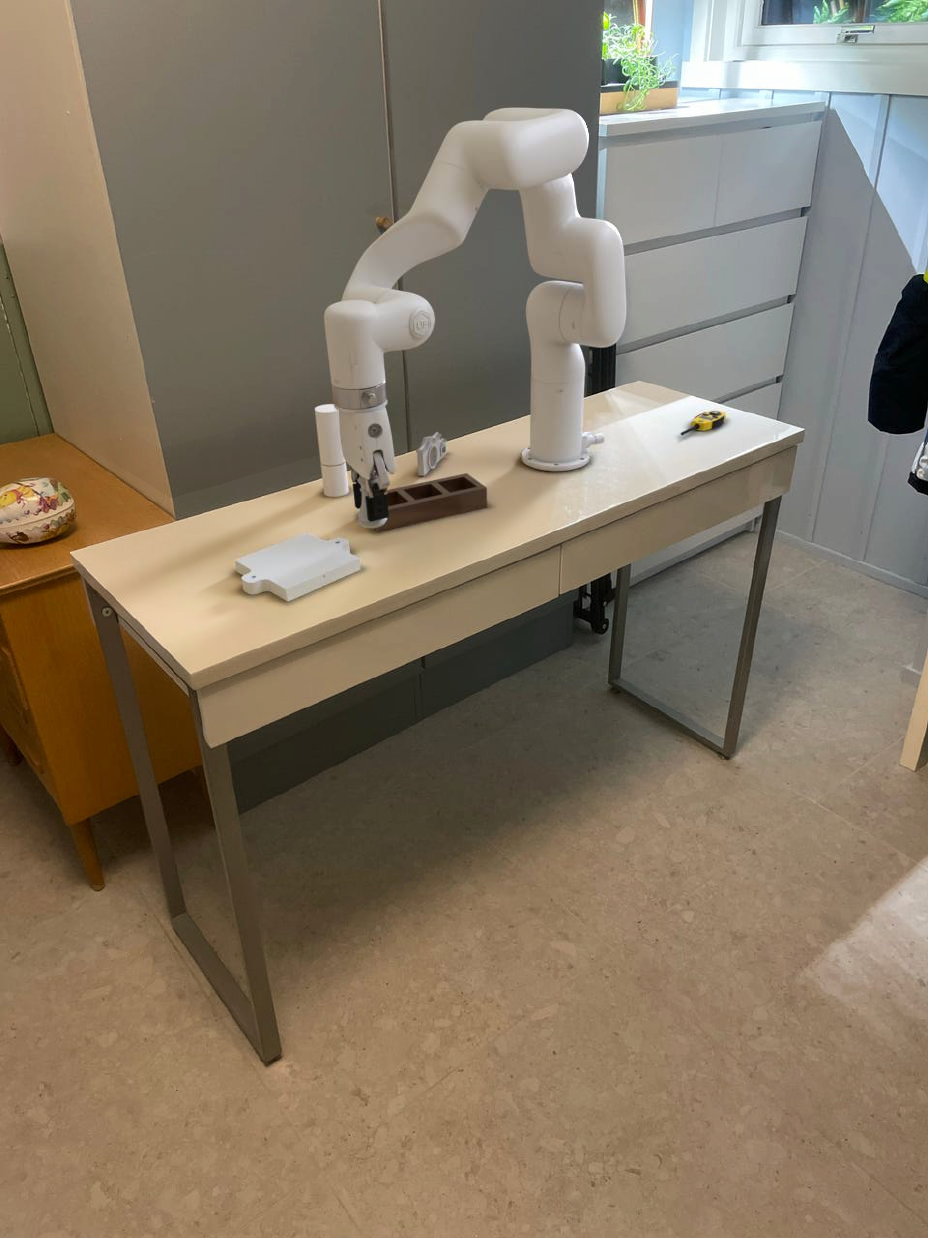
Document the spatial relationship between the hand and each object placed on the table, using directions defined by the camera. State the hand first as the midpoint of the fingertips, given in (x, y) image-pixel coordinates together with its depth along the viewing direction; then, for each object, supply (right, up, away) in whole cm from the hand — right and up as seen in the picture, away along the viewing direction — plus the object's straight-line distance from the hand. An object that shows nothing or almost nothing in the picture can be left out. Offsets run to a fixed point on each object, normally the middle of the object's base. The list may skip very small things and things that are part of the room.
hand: (371, 511), depth 139 cm
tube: (-8, +6, +22) cm, 25 cm away
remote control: (+61, +22, +46) cm, 80 cm away
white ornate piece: (+8, +12, +32) cm, 35 cm away
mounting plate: (-11, -9, -2) cm, 14 cm away
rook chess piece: (0, -2, +1) cm, 2 cm away
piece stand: (+7, +2, +15) cm, 16 cm away
